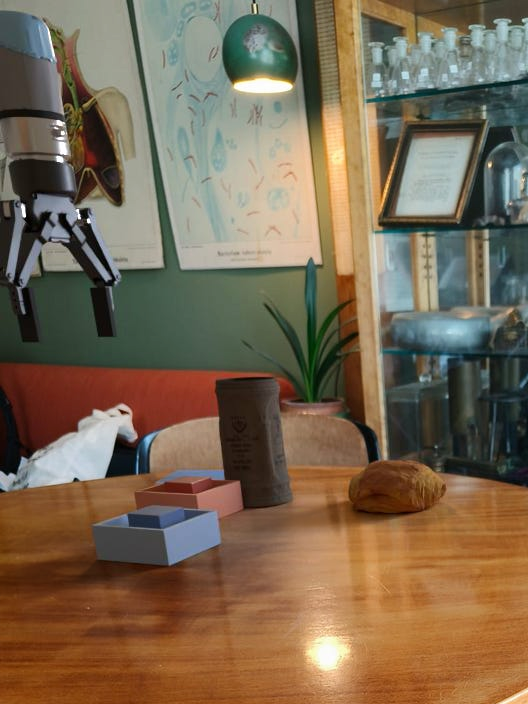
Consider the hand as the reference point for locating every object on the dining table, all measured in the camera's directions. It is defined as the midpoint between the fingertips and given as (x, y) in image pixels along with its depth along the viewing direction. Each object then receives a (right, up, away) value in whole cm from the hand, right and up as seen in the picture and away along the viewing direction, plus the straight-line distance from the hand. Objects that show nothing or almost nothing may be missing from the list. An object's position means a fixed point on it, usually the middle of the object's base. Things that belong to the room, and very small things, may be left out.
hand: (72, 339), depth 119 cm
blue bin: (+12, -29, -1) cm, 31 cm away
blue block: (+13, -28, -1) cm, 31 cm away
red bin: (+10, -21, +18) cm, 30 cm away
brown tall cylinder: (+19, -17, +29) cm, 39 cm away
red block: (+10, -21, +18) cm, 29 cm away
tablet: (+7, -12, +43) cm, 45 cm away
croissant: (+41, -19, +22) cm, 50 cm away
